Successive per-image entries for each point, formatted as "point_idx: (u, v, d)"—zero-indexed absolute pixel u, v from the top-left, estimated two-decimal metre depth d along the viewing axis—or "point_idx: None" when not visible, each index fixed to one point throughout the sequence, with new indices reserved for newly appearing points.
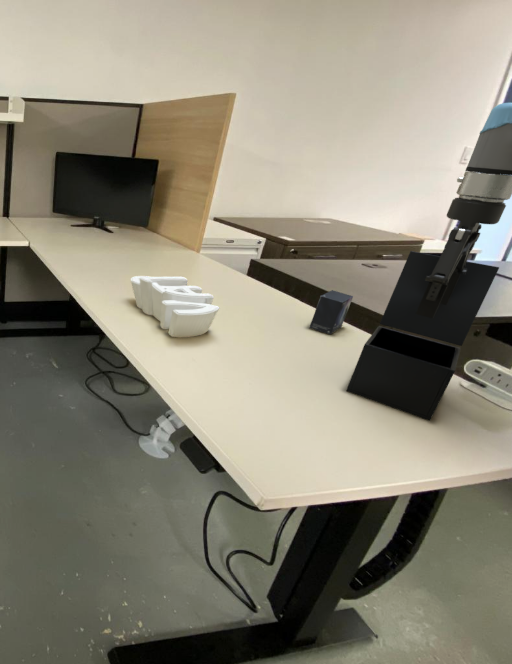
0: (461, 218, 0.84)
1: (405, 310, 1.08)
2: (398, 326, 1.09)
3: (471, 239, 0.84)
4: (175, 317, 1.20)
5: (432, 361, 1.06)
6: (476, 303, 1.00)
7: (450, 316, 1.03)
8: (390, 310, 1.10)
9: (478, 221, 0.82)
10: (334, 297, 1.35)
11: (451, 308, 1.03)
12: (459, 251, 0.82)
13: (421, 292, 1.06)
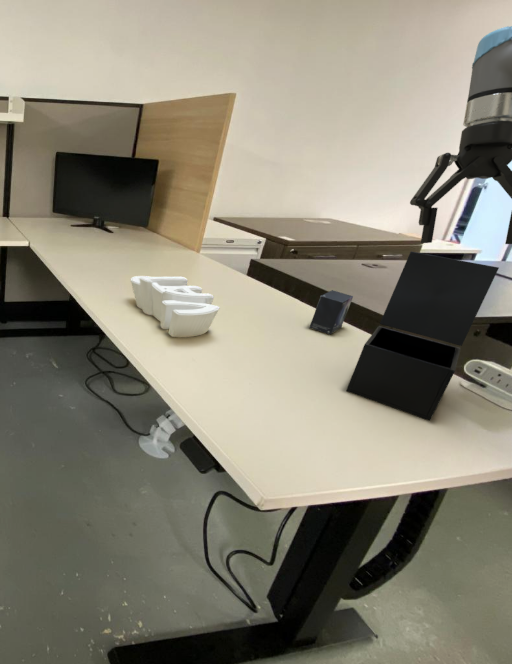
0: (459, 146, 0.88)
1: (405, 310, 1.08)
2: (398, 326, 1.09)
3: (471, 162, 0.86)
4: (175, 317, 1.20)
5: (432, 361, 1.06)
6: (476, 303, 1.00)
7: (450, 316, 1.03)
8: (390, 310, 1.10)
9: (467, 144, 0.85)
10: (334, 297, 1.35)
11: (451, 308, 1.03)
12: (434, 173, 0.88)
13: (421, 292, 1.06)
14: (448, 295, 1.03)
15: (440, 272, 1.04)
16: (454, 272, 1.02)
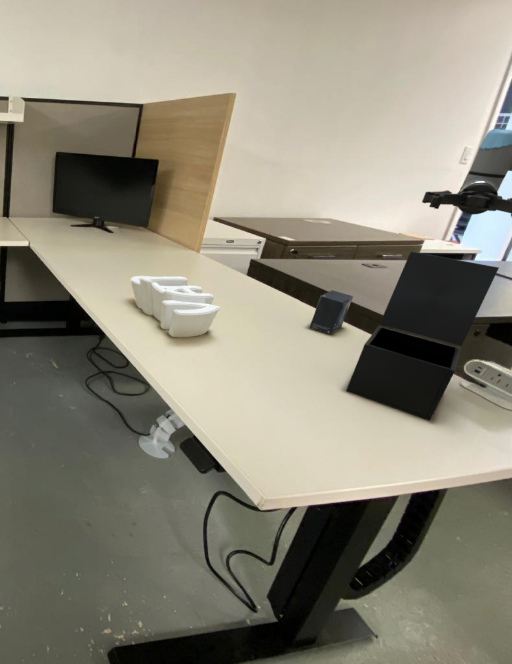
0: None
1: (405, 310, 1.08)
2: (398, 326, 1.09)
3: None
4: (175, 317, 1.20)
5: (432, 361, 1.06)
6: (476, 303, 1.00)
7: (450, 316, 1.03)
8: (390, 310, 1.10)
9: (461, 191, 1.16)
10: (334, 297, 1.35)
11: (451, 308, 1.03)
12: (438, 192, 1.15)
13: (421, 292, 1.06)
14: (448, 295, 1.03)
15: (440, 272, 1.04)
16: (454, 272, 1.02)
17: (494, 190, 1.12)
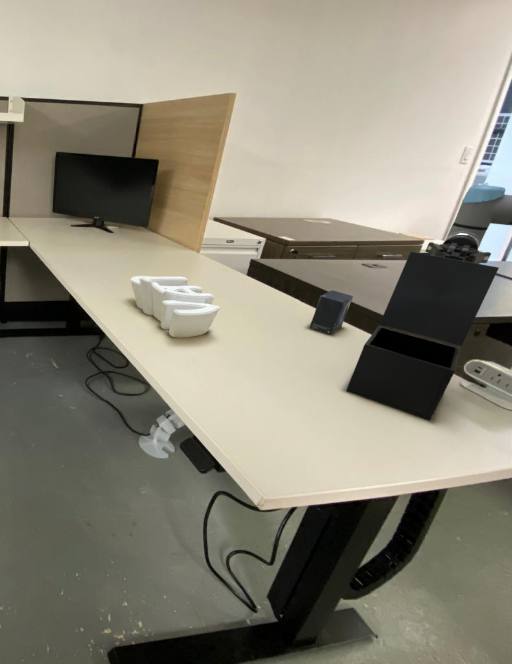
0: None
1: (405, 310, 1.08)
2: (398, 326, 1.09)
3: (450, 245, 1.19)
4: (176, 317, 1.20)
5: (432, 361, 1.06)
6: (476, 303, 1.00)
7: (450, 316, 1.03)
8: (390, 310, 1.10)
9: (444, 242, 1.23)
10: (334, 297, 1.35)
11: (451, 308, 1.03)
12: (433, 246, 1.19)
13: (421, 292, 1.06)
14: (448, 295, 1.03)
15: (440, 272, 1.04)
16: (454, 272, 1.02)
17: (474, 243, 1.19)
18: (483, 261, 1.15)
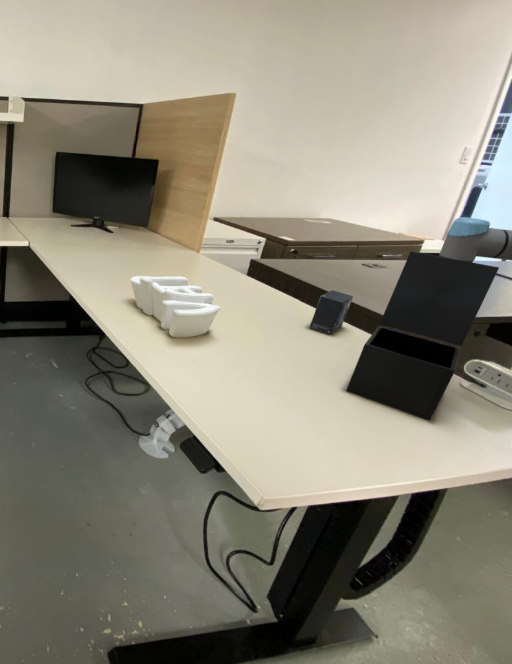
0: None
1: (405, 310, 1.08)
2: (398, 326, 1.09)
3: None
4: (176, 318, 1.20)
5: (432, 361, 1.06)
6: (476, 303, 1.00)
7: (450, 316, 1.03)
8: (390, 310, 1.10)
9: None
10: (334, 297, 1.35)
11: (451, 308, 1.03)
12: None
13: (421, 292, 1.06)
14: (448, 295, 1.03)
15: (440, 272, 1.04)
16: (454, 272, 1.02)
17: None
18: None
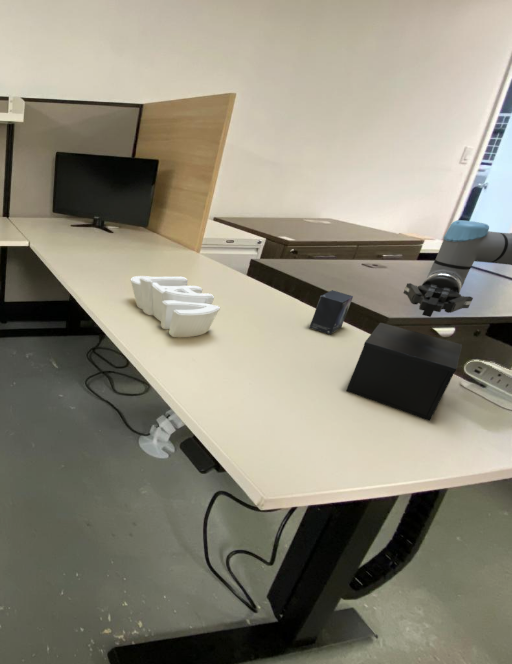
0: None
1: None
2: None
3: (429, 287, 1.10)
4: (176, 318, 1.20)
5: None
6: None
7: None
8: None
9: (423, 283, 1.14)
10: (334, 297, 1.35)
11: None
12: (411, 288, 1.10)
13: None
14: None
15: None
16: None
17: (455, 285, 1.10)
18: (464, 306, 1.06)
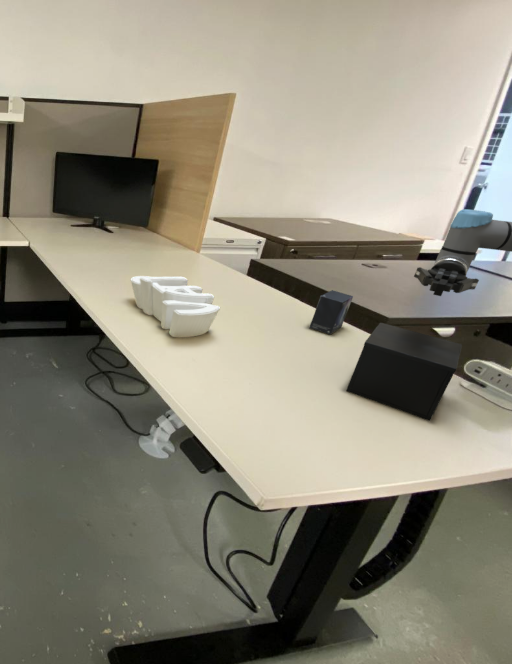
0: None
1: None
2: None
3: (438, 270, 1.19)
4: (176, 318, 1.20)
5: None
6: None
7: None
8: None
9: (432, 267, 1.23)
10: (334, 297, 1.35)
11: None
12: (422, 271, 1.19)
13: None
14: None
15: None
16: None
17: (462, 269, 1.19)
18: (471, 287, 1.15)
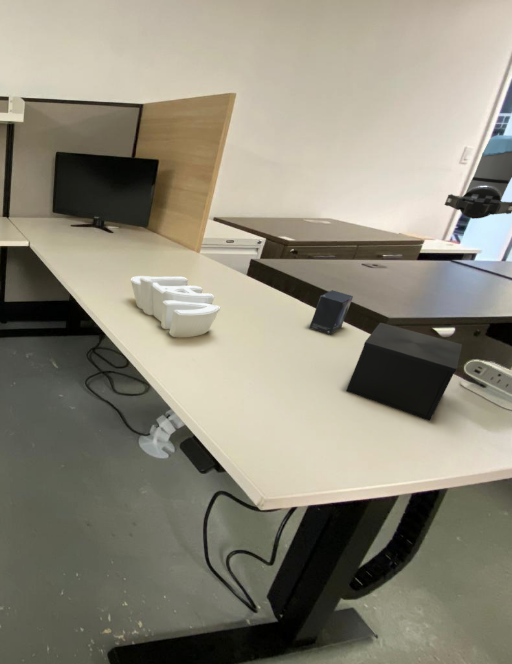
0: None
1: None
2: None
3: None
4: (176, 318, 1.20)
5: None
6: None
7: None
8: None
9: (464, 195, 1.16)
10: (334, 297, 1.35)
11: None
12: (454, 197, 1.12)
13: None
14: None
15: None
16: None
17: (497, 194, 1.12)
18: (507, 211, 1.08)
